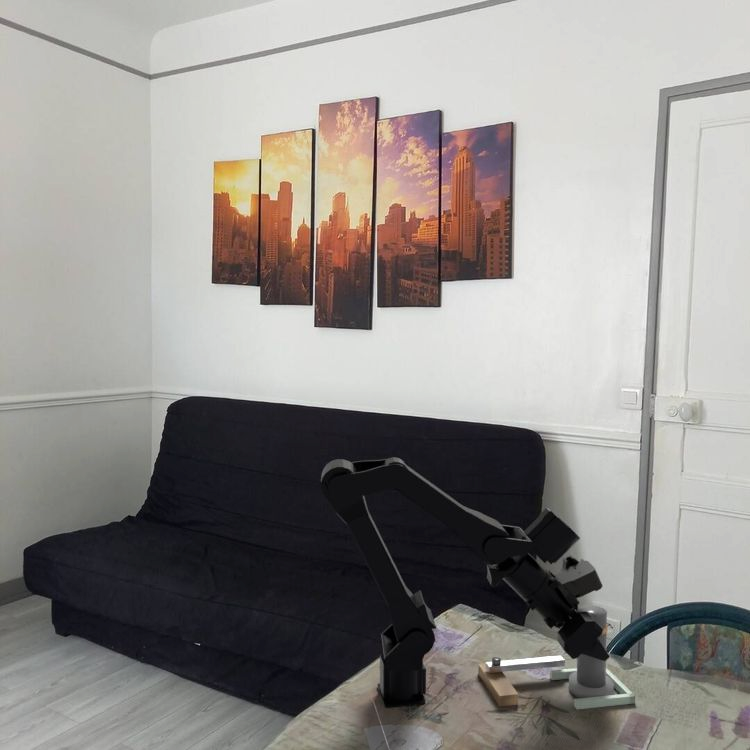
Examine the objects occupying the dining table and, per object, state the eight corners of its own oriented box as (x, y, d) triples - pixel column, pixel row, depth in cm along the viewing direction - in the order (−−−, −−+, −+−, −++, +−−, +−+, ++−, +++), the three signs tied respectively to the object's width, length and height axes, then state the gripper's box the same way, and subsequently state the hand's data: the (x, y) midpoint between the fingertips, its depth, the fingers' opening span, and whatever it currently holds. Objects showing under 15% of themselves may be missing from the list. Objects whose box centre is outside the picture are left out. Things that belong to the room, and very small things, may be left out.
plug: (581, 704, 108) (582, 621, 107) (561, 681, 114) (562, 604, 113) (622, 698, 109) (623, 617, 108) (599, 676, 116) (600, 600, 115)
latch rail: (499, 706, 107) (499, 695, 107) (478, 674, 117) (478, 664, 117) (518, 704, 107) (518, 694, 107) (495, 672, 117) (495, 662, 117)
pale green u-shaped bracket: (576, 709, 106) (576, 701, 106) (549, 677, 116) (549, 670, 115) (634, 703, 108) (635, 695, 108) (603, 672, 117) (604, 665, 117)
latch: (489, 672, 113) (489, 662, 113) (485, 668, 114) (485, 657, 114) (564, 665, 115) (565, 655, 115) (560, 661, 117) (560, 650, 117)
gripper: (590, 568, 100) (663, 641, 102) (552, 529, 119) (614, 591, 120) (534, 622, 101) (608, 695, 102) (505, 575, 119) (568, 637, 121)
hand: (600, 650), depth 111 cm, fingers open, 5 cm apart
